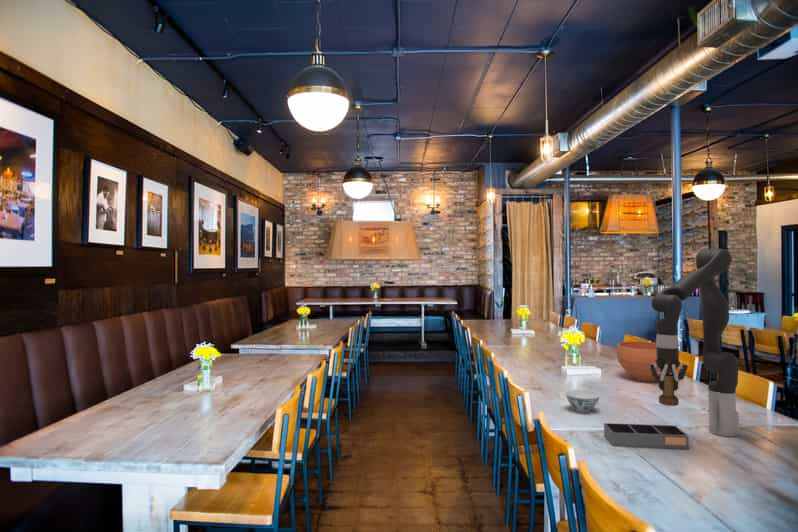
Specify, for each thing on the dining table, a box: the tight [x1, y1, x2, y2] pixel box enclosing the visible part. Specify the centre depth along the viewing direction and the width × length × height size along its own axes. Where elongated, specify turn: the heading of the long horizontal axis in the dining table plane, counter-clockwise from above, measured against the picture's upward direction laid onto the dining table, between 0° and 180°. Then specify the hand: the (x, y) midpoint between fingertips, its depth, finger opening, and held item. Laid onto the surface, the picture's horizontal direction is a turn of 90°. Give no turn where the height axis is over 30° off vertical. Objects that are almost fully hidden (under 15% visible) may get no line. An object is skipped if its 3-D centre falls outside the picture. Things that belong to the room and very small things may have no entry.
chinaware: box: [565, 389, 600, 413], centre depth 222 cm, size 15×15×8 cm
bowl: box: [616, 340, 659, 382], centre depth 278 cm, size 30×30×20 cm
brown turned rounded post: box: [658, 360, 680, 407], centre depth 180 cm, size 7×6×18 cm
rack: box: [603, 422, 690, 450], centre depth 181 cm, size 27×12×5 cm, turn 81°
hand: (668, 389), depth 180 cm, fingers closed on brown turned rounded post, 4 cm apart
